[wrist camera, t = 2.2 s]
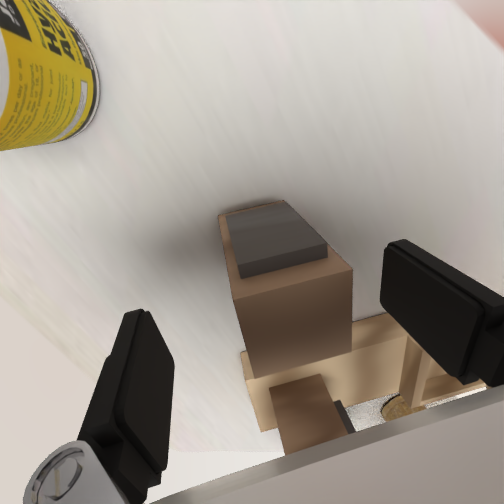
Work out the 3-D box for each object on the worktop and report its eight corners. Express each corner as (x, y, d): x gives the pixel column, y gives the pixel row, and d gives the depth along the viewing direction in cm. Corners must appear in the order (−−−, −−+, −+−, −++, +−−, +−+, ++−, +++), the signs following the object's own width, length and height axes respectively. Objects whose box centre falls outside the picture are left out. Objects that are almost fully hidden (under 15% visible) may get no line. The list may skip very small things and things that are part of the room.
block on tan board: (290, 257, 17) (351, 351, 10) (232, 271, 17) (254, 379, 10) (282, 190, 15) (352, 253, 8) (215, 205, 15) (228, 284, 8)
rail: (470, 290, 22) (664, 415, 13) (454, 346, 25) (597, 477, 16) (240, 352, 21) (272, 542, 11) (255, 403, 24) (289, 581, 15)
